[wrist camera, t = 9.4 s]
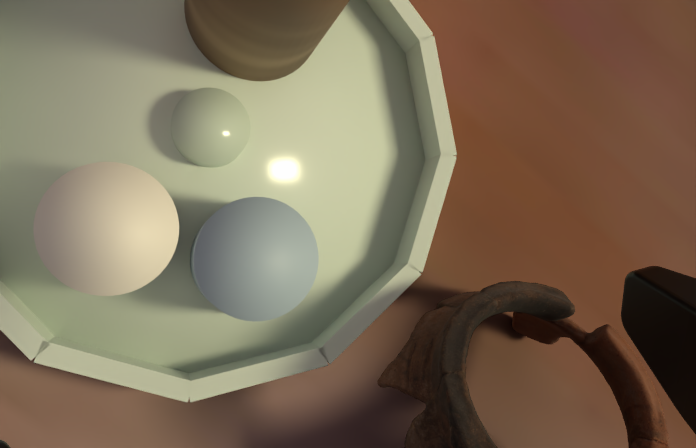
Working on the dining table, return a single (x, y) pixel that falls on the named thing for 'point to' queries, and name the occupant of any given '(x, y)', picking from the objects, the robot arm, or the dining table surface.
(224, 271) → the blue-grey rounded piece
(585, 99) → the dining table surface
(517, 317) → the brown hollow cylinder
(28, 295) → the green tray
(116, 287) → the cream round bead
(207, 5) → the pepper grinder
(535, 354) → the dining table surface
